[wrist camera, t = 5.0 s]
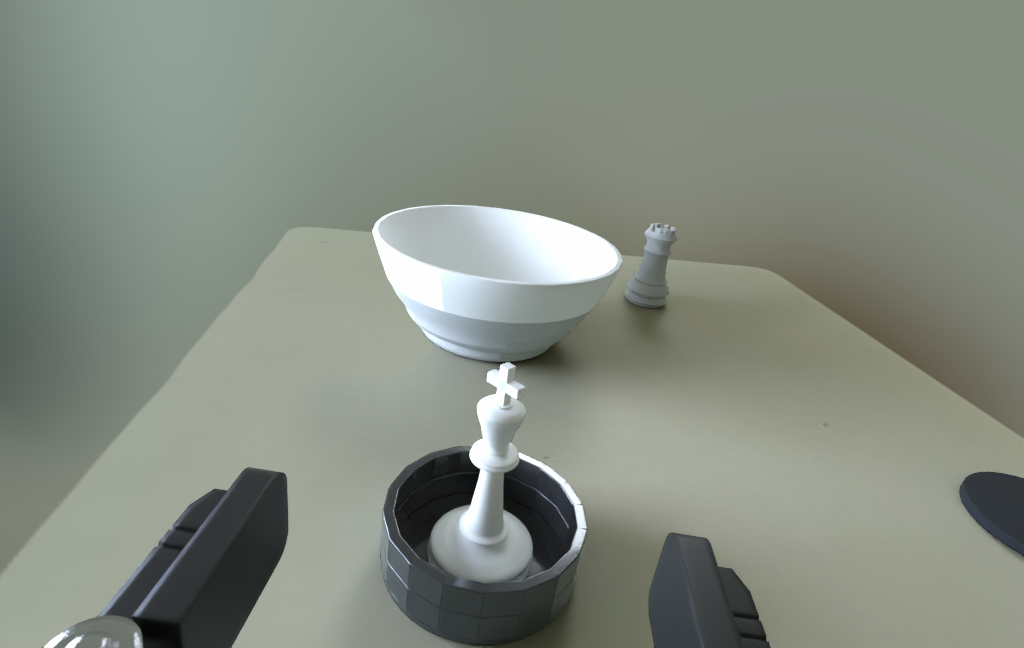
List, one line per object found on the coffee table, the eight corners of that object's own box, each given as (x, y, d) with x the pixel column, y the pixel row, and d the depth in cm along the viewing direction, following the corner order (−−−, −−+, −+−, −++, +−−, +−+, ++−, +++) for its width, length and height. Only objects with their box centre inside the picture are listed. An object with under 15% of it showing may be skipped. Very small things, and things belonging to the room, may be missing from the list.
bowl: (624, 323, 55) (644, 239, 51) (560, 425, 38) (584, 310, 35) (441, 272, 61) (448, 193, 57) (316, 342, 44) (315, 235, 40)
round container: (614, 596, 26) (629, 547, 25) (428, 683, 22) (435, 628, 20) (512, 473, 33) (520, 430, 32) (353, 519, 28) (355, 471, 27)
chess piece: (478, 617, 24) (510, 415, 20) (405, 545, 27) (419, 356, 23) (553, 557, 28) (594, 374, 23) (481, 499, 30) (506, 327, 26)
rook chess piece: (661, 295, 63) (680, 223, 60) (670, 311, 59) (691, 236, 56) (620, 290, 63) (637, 217, 60) (627, 306, 59) (645, 229, 56)
